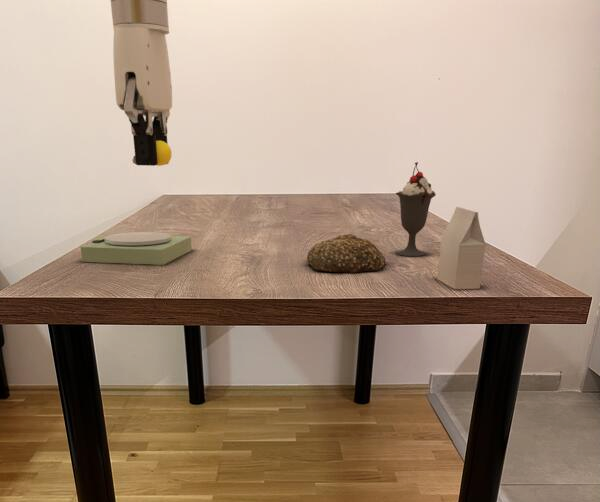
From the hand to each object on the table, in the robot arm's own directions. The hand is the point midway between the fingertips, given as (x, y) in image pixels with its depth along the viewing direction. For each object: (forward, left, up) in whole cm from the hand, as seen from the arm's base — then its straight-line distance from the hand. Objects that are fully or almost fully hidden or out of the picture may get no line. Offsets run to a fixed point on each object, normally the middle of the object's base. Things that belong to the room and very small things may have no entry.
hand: (152, 163), depth 95 cm
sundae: (+39, +18, -15) cm, 46 cm away
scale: (-7, +7, -15) cm, 18 cm away
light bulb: (0, 0, 0) cm, 0 cm away
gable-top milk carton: (+46, -5, -15) cm, 49 cm away
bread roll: (+29, +5, -15) cm, 33 cm away
